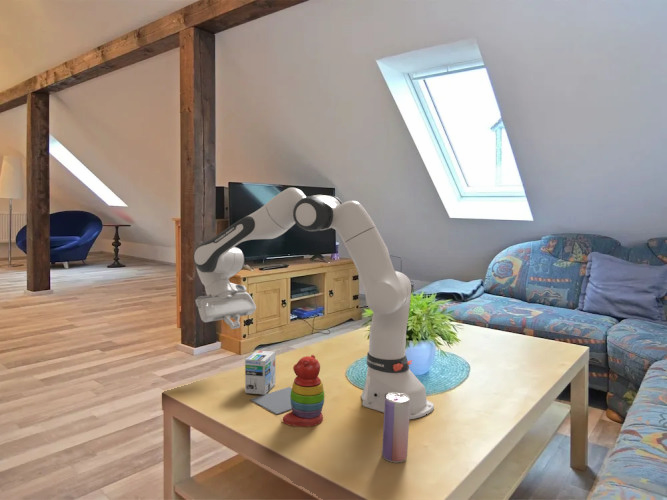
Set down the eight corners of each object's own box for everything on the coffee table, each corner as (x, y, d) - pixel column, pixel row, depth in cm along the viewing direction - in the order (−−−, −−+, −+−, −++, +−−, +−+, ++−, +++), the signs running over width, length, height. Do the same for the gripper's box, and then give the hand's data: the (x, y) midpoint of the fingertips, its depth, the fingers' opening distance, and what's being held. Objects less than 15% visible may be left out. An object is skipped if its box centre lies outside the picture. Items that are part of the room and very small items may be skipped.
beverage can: (379, 460, 118) (382, 399, 116) (385, 448, 123) (388, 390, 122) (403, 466, 116) (407, 404, 114) (409, 454, 121) (412, 394, 119)
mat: (316, 401, 150) (316, 399, 150) (277, 415, 140) (277, 413, 140) (289, 388, 159) (289, 386, 159) (250, 400, 149) (250, 399, 149)
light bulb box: (265, 395, 152) (265, 360, 151) (244, 393, 153) (244, 359, 152) (276, 383, 162) (276, 351, 161) (256, 381, 164) (256, 349, 163)
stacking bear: (299, 408, 145) (300, 348, 143) (330, 415, 141) (332, 354, 139) (279, 422, 135) (281, 359, 133) (312, 431, 131) (314, 366, 129)
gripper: (197, 291, 163) (212, 327, 157) (249, 285, 177) (264, 318, 171) (190, 302, 166) (204, 337, 161) (241, 295, 181) (257, 327, 175)
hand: (236, 327), depth 166 cm, fingers closed
